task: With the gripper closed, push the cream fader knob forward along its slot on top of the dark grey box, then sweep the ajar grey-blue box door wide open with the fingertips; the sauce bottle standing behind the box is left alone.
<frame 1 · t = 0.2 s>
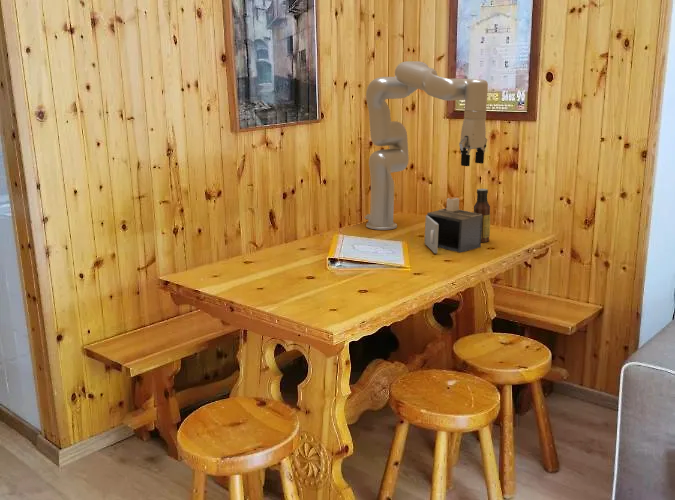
hand: (472, 164, 254), 31 cm above the table, tool pointing down, fingers open, 9 cm apart
door: (429, 234, 257), point 6 cm above the table, hinge at 35.0°
sauce bottle: (480, 241, 272), on the table
dark grey box: (453, 245, 264), on the table
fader: (452, 203, 265), point 15 cm above the table, slide at -3.5 cm
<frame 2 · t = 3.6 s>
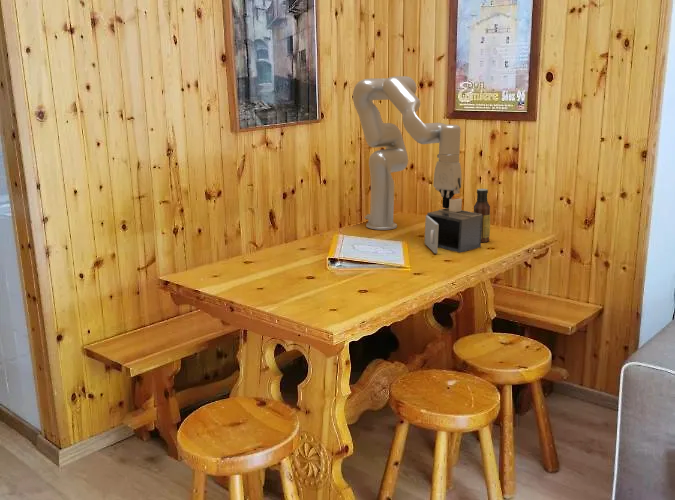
hand: (446, 207, 267), 13 cm above the table, tool pointing down, fingers closed
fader: (455, 204, 264), point 15 cm above the table, slide at -2.3 cm, touching gripper
everything else where it was.
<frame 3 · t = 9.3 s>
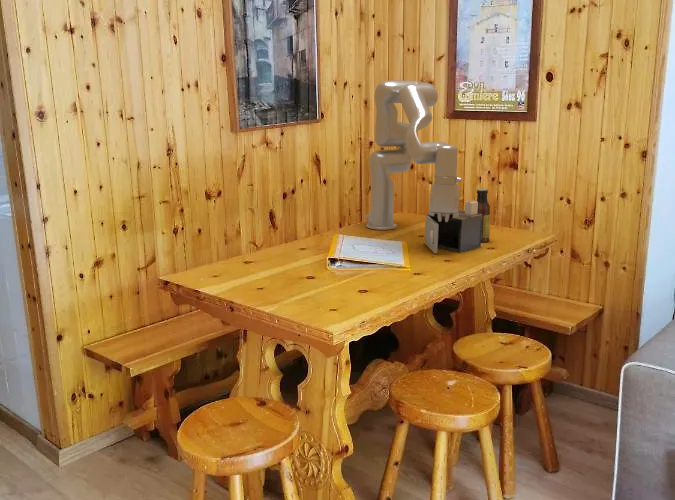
hand: (442, 232, 252), 8 cm above the table, tool pointing down, fingers closed
door: (429, 234, 257), point 6 cm above the table, hinge at 35.3°, touching gripper
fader: (471, 207, 259), point 15 cm above the table, slide at 5.0 cm
everything else where it was.
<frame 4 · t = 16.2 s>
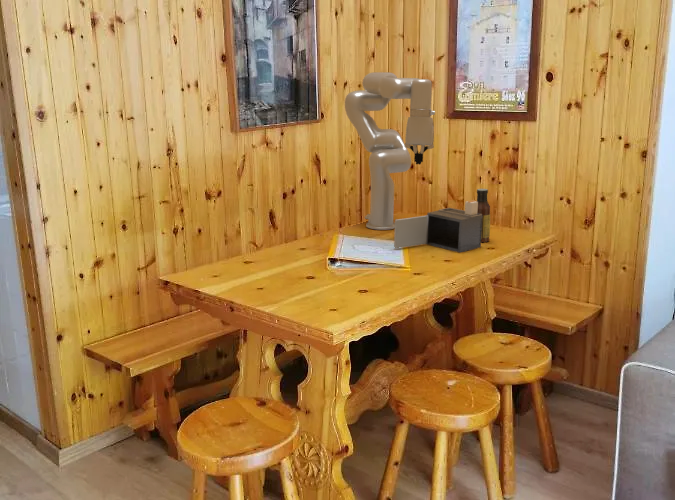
hand: (418, 163, 265), 29 cm above the table, tool pointing down, fingers closed
door: (410, 231, 260), point 6 cm above the table, hinge at 99.8°
everything else where it was.
at the end: door at +100° (first picture: +35°); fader slide at 5.0 cm; door touching nothing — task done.
